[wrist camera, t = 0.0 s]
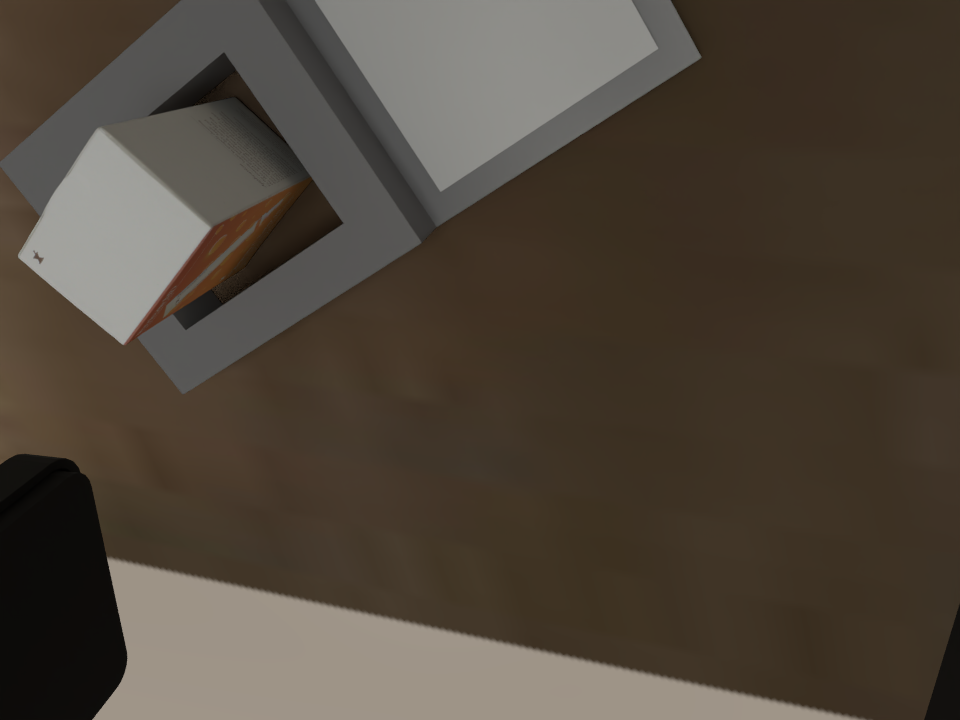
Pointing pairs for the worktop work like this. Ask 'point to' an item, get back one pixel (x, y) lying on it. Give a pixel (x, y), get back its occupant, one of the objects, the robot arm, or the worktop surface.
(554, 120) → the case
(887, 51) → the worktop surface
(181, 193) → the small box
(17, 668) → the robot arm
